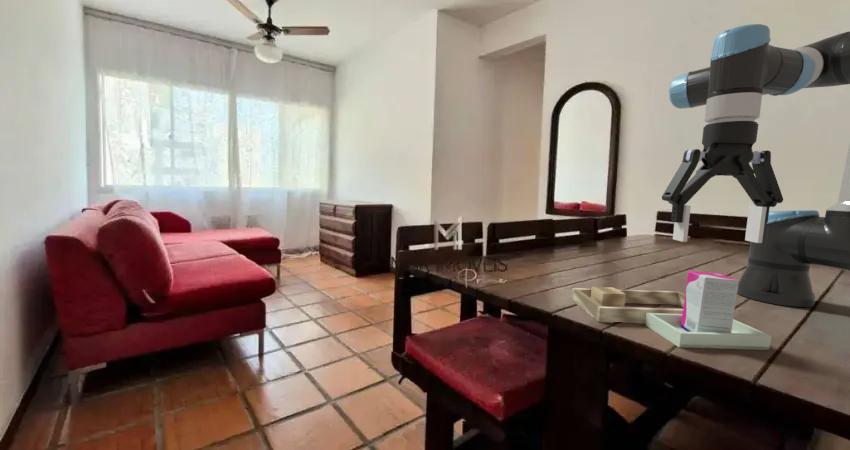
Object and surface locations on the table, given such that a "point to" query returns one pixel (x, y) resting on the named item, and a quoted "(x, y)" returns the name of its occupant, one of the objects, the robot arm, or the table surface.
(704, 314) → the supplement box
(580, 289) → the frame
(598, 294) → the oak block
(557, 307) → the table surface
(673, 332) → the tray
